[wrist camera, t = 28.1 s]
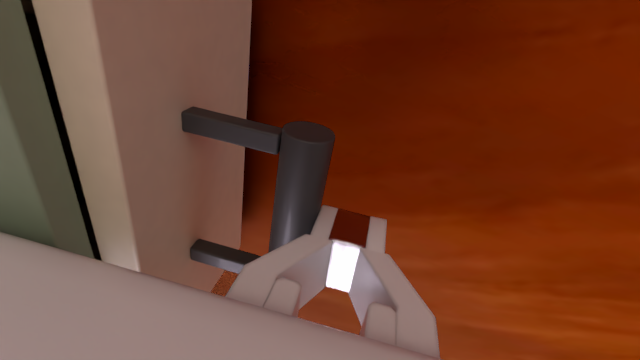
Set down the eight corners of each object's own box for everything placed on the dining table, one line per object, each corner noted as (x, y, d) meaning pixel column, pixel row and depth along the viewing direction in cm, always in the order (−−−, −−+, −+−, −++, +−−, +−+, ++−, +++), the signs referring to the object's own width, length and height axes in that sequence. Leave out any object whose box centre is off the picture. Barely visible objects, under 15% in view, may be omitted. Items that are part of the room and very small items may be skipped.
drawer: (376, 0, 10) (347, -11, 4) (315, 268, 16) (270, 411, 11) (-80, -89, 12) (-538, -182, 6) (24, 184, 18) (-151, 267, 12)
